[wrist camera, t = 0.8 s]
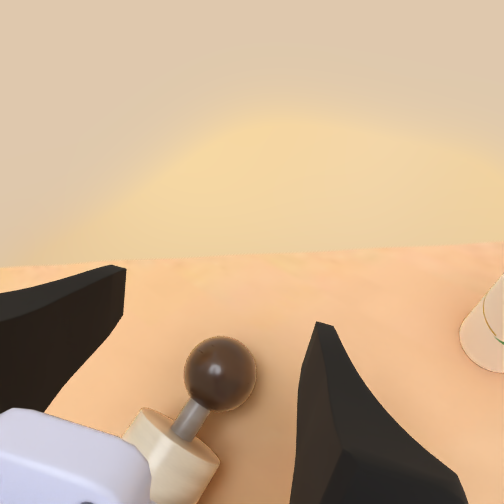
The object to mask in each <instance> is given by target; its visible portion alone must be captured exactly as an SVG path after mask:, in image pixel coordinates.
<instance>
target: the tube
mask: <svg viewBox="0 0 504 504" xmlns="http://www.w3.org/2000/svg"><path fill="white" fill-rule="evenodd" d="M459 337H460V342H461V345H462V348H463V350H464V351H465V353H466V354H467V356H468V357H469V358H470V359H471V360H472V361H473V362H475V363H476V364H477V365H479V366H480V367H482V368H484V369H486V370H489V371H492V372H498V373H504V273H503V274H502V276H501V277H500V278H499V279H498V280H497V282H496V283H495V284H494V285H493V286H492V288H491V289H490V290H489V291H488V292H487V293H486V295H485V296H484V297H483V298H482V299H481V300H480V302H479V303H478V304H477V305H476V306H475V308H474V309H473V310H472V311H471V312H470V313H469V315H468V316H467V317H466V318H465V319H464V320H463V322H462V324H461V327H460V331H459Z"/></svg>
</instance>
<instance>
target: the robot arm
mask: <svg viewBox="0 0 504 504" xmlns="http://www.w3.org/2000/svg"><path fill="white" fill-rule="evenodd" d="M125 282H126V269H125V268H121V267H118V266H114V265H108V266H103V267H100V268H96V269H93V270H90V271H87V272H83V273H80V274H77V275H74V276H70V277H67V278H64V279H61V280H57V281H53V282H49V283H46V284H42V285H38V286H34V287H30V288H26V289H21V290H16V291H11V292H5V293H0V504H157V503H156V502H154V501H152V500H150V487H151V480H152V476H151V472H150V467H149V463H148V461H147V459H146V458H145V457H144V455H143V454H142V453H141V452H140V451H139V450H138V449H137V447H136V446H135V445H133V444H131V443H129V442H127V441H125V440H123V439H122V438H120V437H118V436H115V435H112V434H108V433H105V432H102V431H99V430H96V429H93V428H90V427H86V426H83V425H80V424H77V423H74V422H71V421H68V420H64V419H61V418H58V417H55V416H52V415H49V414H46V413H44V412H45V410H46V409H47V407H48V406H49V405H50V403H51V402H52V401H53V399H54V398H55V397H56V395H57V394H58V393H59V391H60V390H61V388H62V387H63V386H64V385H65V384H66V383H67V381H68V380H69V379H70V378H71V377H72V376H73V375H74V373H75V372H76V371H77V370H78V369H79V368H80V367H81V366H82V365H83V364H84V363H85V361H86V360H87V359H88V358H89V357H90V356H91V355H92V354H93V353H94V352H95V351H96V350H97V348H98V347H99V346H100V345H101V344H102V343H103V342H104V341H105V340H106V338H107V337H108V336H109V335H110V333H111V332H112V331H113V329H114V328H115V326H116V325H117V323H118V322H119V320H120V319H121V317H122V316H123V308H124V295H125ZM290 504H468V501H467V498H466V495H465V492H464V490H463V487H462V485H461V483H460V480H459V478H458V476H457V474H456V473H454V472H453V471H452V470H451V469H449V468H448V467H447V466H446V465H444V464H443V463H442V462H440V461H439V460H438V459H437V458H435V457H434V456H433V455H432V454H430V453H429V452H428V451H427V450H425V449H424V448H423V447H422V446H421V445H420V444H419V443H418V442H417V441H415V440H414V439H413V438H412V437H411V436H410V435H409V434H408V433H407V432H406V431H405V430H404V429H403V428H402V427H401V426H400V425H399V424H398V423H397V422H396V421H395V420H394V419H393V418H392V417H391V416H390V415H389V413H388V412H387V411H386V410H385V409H384V408H383V407H382V405H381V404H380V403H379V402H378V400H377V399H376V398H375V397H374V395H373V394H372V393H371V391H370V390H369V389H368V387H367V386H366V385H365V383H364V382H363V380H362V379H361V377H360V375H359V374H358V372H357V371H356V369H355V367H354V365H353V364H352V362H351V360H350V358H349V357H348V355H347V353H346V351H345V349H344V347H343V345H342V343H341V341H340V339H339V336H338V334H337V332H336V330H335V328H334V326H331V325H328V324H324V323H320V322H317V321H316V324H315V327H314V330H313V333H312V336H311V339H310V342H309V346H308V349H307V352H306V355H305V358H304V361H303V364H302V368H301V374H300V380H299V387H298V403H297V437H296V457H295V467H294V474H293V482H292V489H291V497H290Z"/></svg>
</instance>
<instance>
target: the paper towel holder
mask: <svg viewBox="0 0 504 504" xmlns="http://www.w3.org/2000/svg"><path fill="white" fill-rule="evenodd" d="M255 382H256V365H255V361H254V358H253V356H252V354H251V353H250V351H249V350H248V349H247V347H246V346H245V345H244V344H242V343H241V342H239V341H238V340H236V339H233V338H230V337H225V336H217V337H212V338H209V339H206V340H204V341H202V342H201V343H199V344H198V345H197V346H196V347H195V348H194V349H193V350H192V352H191V353H190V355H189V356H188V358H187V361H186V364H185V367H184V383H185V387H186V390H187V392H188V394H189V396H190V398H189V400H188V402H187V403H186V405H185V406H184V408H183V409H182V411H181V412H180V414H179V415H178V417H177V418H176V420H175V421H173V420H172V419H170V418H169V417H167V416H165V415H163V414H161V413H159V412H157V411H155V410H153V409H150V408H141V410H140V411H139V413H138V414H137V416H136V417H135V419H134V420H133V422H132V423H131V424H130V426H129V427H128V429H127V430H126V432H125V433H124V435H123V436H122V439H123V440H125V441H127V442H129V443H131V444H133V445H135V446H136V447H137V449H138V450H139V451H140V452H141V453H142V454H143V455H144V457H145V458H146V459H147V461H148V463H149V467H150V472H151V476H152V480H151V487H150V500H152V501H154V502H156V503H157V504H197V502H198V501H199V499H200V497H201V496H202V494H203V492H204V490H205V489H206V487H207V485H208V484H209V482H210V480H211V479H212V477H213V475H214V474H215V472H216V470H217V469H218V467H219V465H220V461H219V459H218V457H217V456H216V455H215V453H214V452H213V451H212V450H211V449H210V448H209V447H208V446H207V445H206V444H205V443H203V442H202V441H201V440H200V439H199V438H197V437H196V434H197V433H198V431H199V429H200V428H201V426H202V425H203V423H204V421H205V420H206V418H207V417H208V415H209V413H210V412H211V411H212V412H227V411H230V410H233V409H235V408H237V407H239V406H240V405H241V404H243V403H244V402H245V401H246V400H247V399H248V397H249V396H250V394H251V393H252V391H253V388H254V386H255Z"/></svg>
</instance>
